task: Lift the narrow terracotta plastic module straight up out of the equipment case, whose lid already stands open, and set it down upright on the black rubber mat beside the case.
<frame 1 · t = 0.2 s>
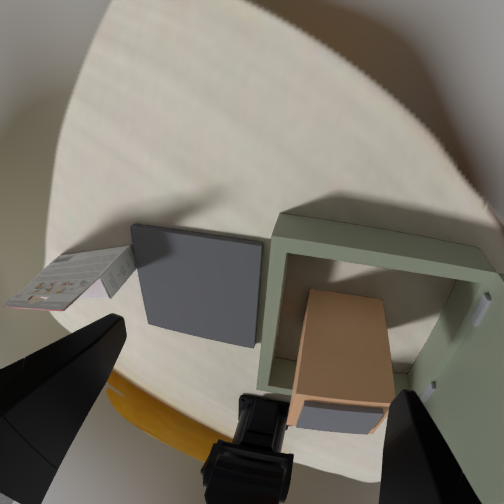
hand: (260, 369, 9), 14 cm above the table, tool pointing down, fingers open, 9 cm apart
ink cartridge box: (96, 258, 28), on the table
module: (341, 312, 25), resting in equipment case
rubber mat: (196, 288, 27), on the table
equipment case: (364, 316, 24), on the table
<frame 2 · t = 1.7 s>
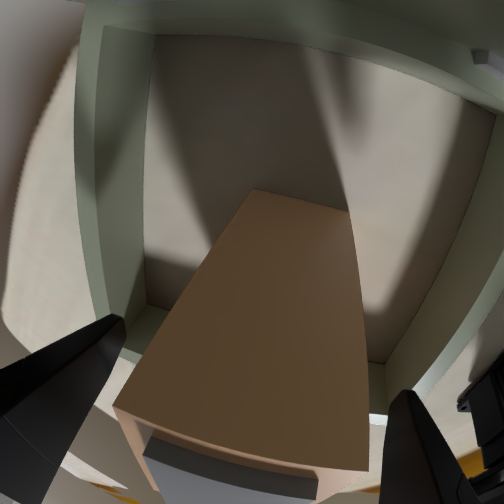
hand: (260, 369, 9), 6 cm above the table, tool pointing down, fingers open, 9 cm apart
module: (285, 262, 14), resting in equipment case
equipment case: (295, 222, 13), on the table
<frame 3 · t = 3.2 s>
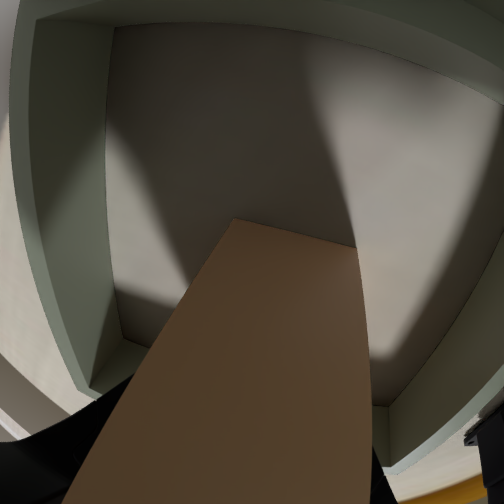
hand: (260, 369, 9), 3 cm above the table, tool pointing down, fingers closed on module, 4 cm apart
module: (277, 305, 11), resting in equipment case, touching gripper
equipment case: (289, 259, 10), on the table
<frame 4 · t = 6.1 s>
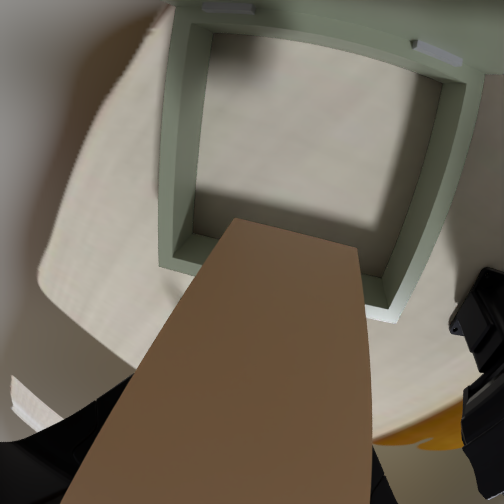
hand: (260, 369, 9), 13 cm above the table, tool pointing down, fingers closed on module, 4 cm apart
module: (277, 304, 11), point 10 cm above the table, touching gripper
equipment case: (309, 158, 18), on the table
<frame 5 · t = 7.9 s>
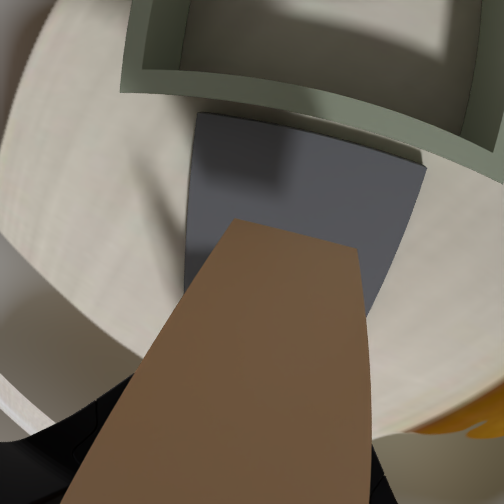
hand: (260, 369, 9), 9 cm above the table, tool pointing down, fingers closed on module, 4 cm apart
module: (277, 305, 11), point 6 cm above the table, touching gripper
rubber mat: (290, 235, 16), on the table
when the fingers open (5 cm above the table, at t = 9.3 s): module drops 1 cm, resting on rubber mat.
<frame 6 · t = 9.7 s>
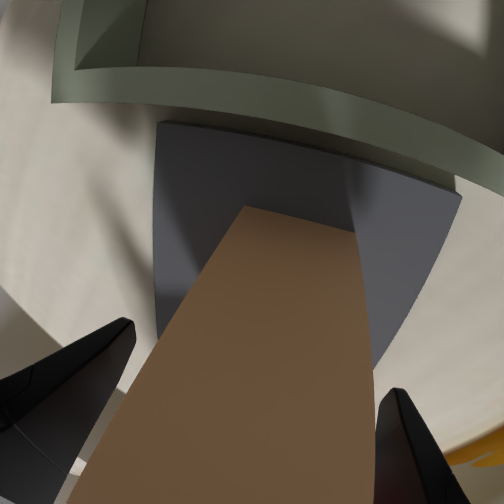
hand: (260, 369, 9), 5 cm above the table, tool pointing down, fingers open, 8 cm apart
module: (282, 287, 12), point 1 cm above the table, touching rubber mat
rubber mat: (282, 278, 13), on the table
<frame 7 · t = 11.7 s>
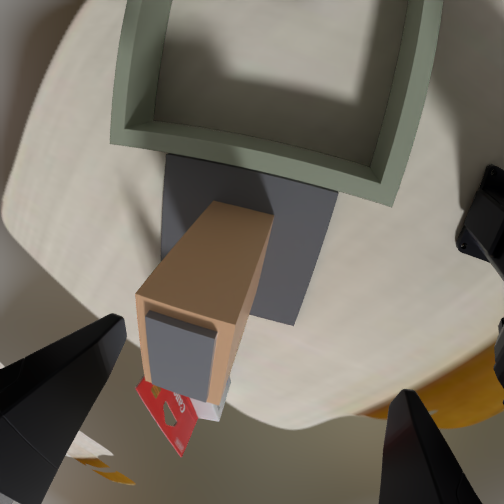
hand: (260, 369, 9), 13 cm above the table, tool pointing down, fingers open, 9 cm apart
ink cartridge box: (212, 343, 28), on the table
module: (236, 247, 21), point 1 cm above the table, touching rubber mat
rubber mat: (237, 243, 22), on the table
equipment case: (278, 28, 14), on the table
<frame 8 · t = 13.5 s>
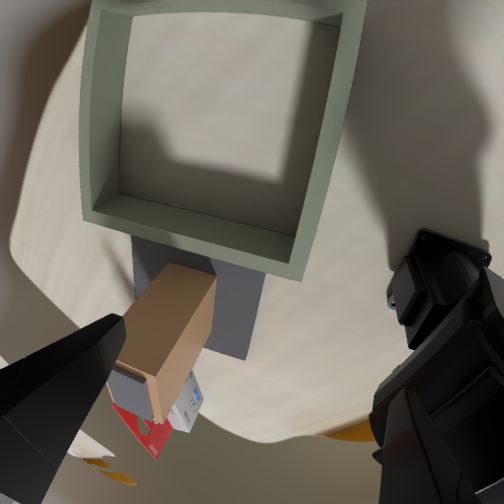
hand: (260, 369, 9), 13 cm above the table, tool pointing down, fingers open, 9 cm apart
ink cartridge box: (184, 367, 32), on the table
module: (191, 298, 25), point 1 cm above the table, touching rubber mat
rubber mat: (193, 294, 26), on the table
equipment case: (209, 114, 18), on the table
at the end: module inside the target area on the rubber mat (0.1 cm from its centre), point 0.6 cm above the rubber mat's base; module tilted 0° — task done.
